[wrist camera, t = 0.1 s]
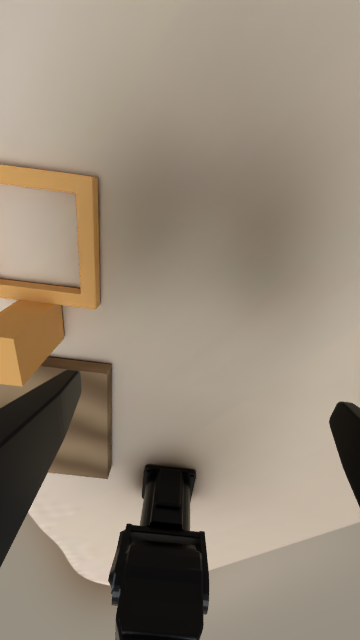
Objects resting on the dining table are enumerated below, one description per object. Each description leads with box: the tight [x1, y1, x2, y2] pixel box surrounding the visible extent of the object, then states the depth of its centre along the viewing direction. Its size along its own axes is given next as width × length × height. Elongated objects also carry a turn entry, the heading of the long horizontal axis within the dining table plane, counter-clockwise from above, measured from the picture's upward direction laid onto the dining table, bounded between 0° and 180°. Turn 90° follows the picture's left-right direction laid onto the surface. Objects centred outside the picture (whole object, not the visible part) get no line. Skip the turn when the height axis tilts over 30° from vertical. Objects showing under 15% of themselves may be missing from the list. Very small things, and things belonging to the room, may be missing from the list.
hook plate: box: [0, 357, 111, 479], centre depth 27 cm, size 16×12×6 cm
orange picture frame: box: [0, 164, 100, 387], centre depth 19 cm, size 14×10×7 cm
